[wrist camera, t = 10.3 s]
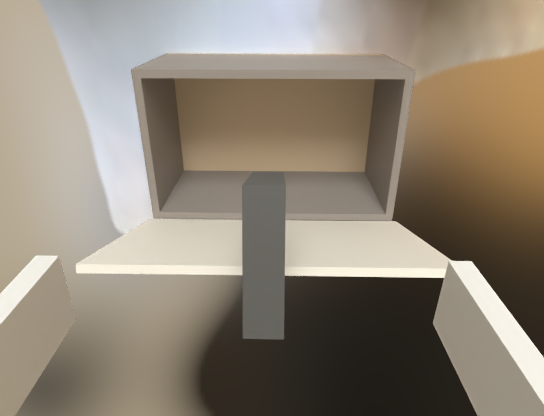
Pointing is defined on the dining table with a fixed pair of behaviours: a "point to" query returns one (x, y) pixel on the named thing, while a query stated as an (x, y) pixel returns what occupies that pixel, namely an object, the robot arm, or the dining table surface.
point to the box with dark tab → (267, 251)
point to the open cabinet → (273, 132)
